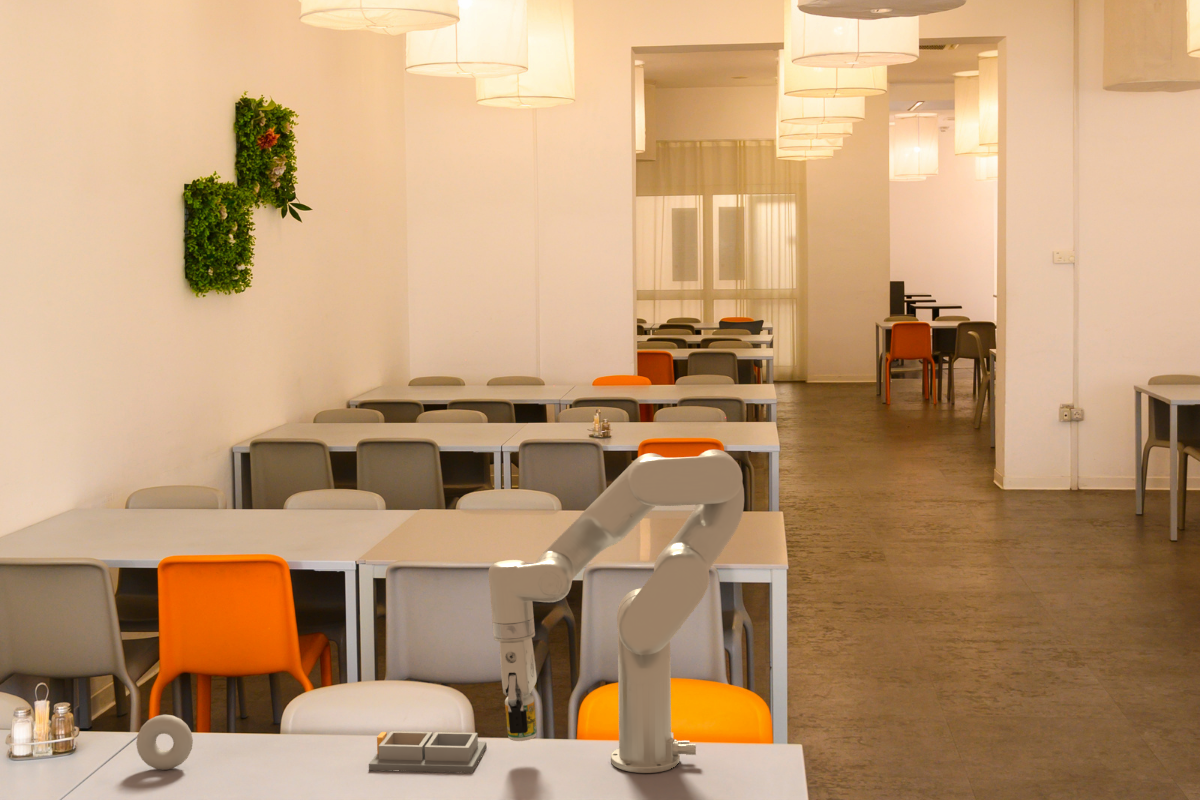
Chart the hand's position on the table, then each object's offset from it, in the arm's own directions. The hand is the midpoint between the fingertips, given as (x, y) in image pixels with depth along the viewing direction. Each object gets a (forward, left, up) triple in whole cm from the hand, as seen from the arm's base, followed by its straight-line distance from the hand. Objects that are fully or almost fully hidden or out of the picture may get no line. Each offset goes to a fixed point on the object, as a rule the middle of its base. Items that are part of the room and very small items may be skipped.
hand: (521, 725), depth 215 cm
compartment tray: (+18, -1, -7) cm, 19 cm away
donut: (+65, +7, -7) cm, 65 cm away
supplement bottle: (0, 0, -2) cm, 2 cm away
